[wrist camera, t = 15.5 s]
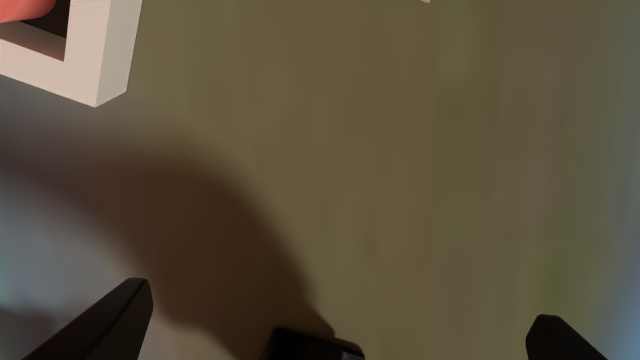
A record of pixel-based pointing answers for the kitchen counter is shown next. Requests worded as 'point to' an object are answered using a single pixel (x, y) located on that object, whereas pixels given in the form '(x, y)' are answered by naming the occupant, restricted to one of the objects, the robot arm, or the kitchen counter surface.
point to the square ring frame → (75, 51)
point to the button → (24, 9)
